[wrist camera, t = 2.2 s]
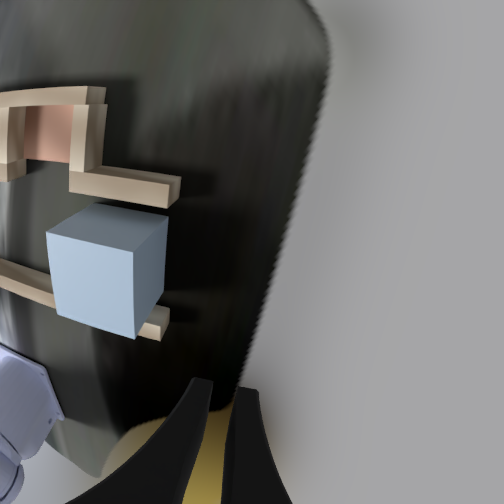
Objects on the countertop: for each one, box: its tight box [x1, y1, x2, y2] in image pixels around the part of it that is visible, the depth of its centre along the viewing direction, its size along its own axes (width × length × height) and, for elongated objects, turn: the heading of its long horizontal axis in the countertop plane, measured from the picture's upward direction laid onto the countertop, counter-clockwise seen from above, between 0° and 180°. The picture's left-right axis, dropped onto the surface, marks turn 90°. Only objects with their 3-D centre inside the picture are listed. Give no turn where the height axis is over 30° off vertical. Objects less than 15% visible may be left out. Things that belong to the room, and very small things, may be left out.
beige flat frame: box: [0, 86, 181, 341], centre depth 16 cm, size 14×25×3 cm, turn 80°
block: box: [46, 203, 169, 339], centre depth 16 cm, size 5×5×5 cm
